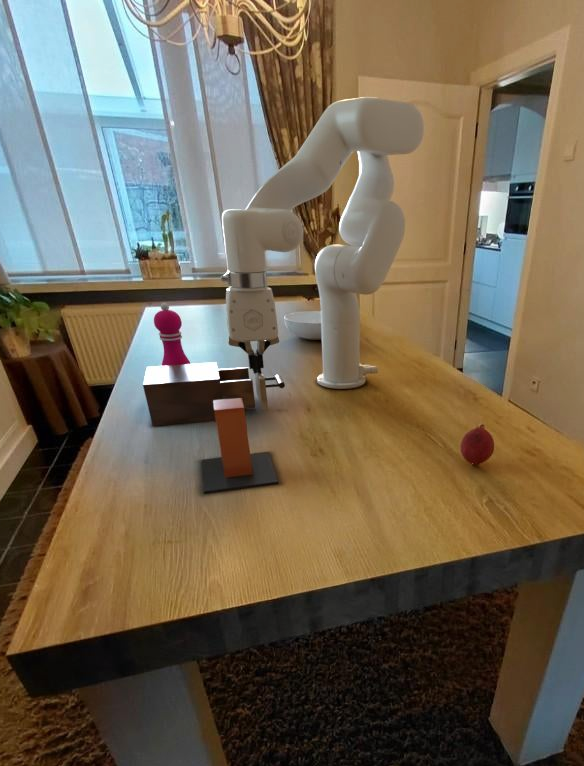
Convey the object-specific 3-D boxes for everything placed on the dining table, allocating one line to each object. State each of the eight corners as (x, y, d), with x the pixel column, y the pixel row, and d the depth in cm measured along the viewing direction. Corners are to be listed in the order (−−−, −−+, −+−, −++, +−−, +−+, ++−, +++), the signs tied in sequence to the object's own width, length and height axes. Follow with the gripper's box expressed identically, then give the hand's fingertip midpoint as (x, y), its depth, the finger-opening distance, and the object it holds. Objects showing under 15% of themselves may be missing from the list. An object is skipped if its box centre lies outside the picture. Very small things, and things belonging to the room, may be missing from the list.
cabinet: (222, 399, 116) (216, 362, 112) (225, 419, 106) (219, 378, 101) (155, 405, 113) (146, 366, 108) (152, 426, 102) (142, 384, 98)
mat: (268, 453, 92) (268, 451, 92) (278, 483, 82) (278, 481, 82) (202, 461, 89) (201, 459, 89) (203, 493, 79) (203, 491, 79)
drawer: (280, 391, 119) (278, 362, 115) (288, 408, 110) (286, 377, 106) (202, 398, 114) (197, 368, 111) (204, 416, 105) (198, 384, 101)
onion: (483, 476, 86) (490, 433, 81) (453, 467, 88) (458, 425, 84) (495, 463, 90) (502, 422, 86) (465, 455, 92) (471, 415, 88)
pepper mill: (186, 394, 119) (170, 306, 108) (159, 392, 120) (140, 304, 109) (201, 385, 125) (186, 300, 114) (175, 383, 126) (158, 299, 115)
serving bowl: (344, 345, 161) (344, 323, 158) (280, 344, 161) (279, 322, 158) (347, 331, 179) (347, 310, 175) (290, 330, 179) (288, 310, 175)
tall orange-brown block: (250, 462, 88) (241, 397, 81) (252, 474, 84) (244, 407, 78) (223, 466, 87) (212, 400, 80) (225, 478, 83) (214, 410, 77)
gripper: (210, 284, 94) (223, 379, 104) (288, 282, 98) (293, 374, 108) (208, 279, 100) (221, 369, 110) (282, 278, 104) (287, 365, 114)
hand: (256, 371), depth 109 cm, fingers closed
